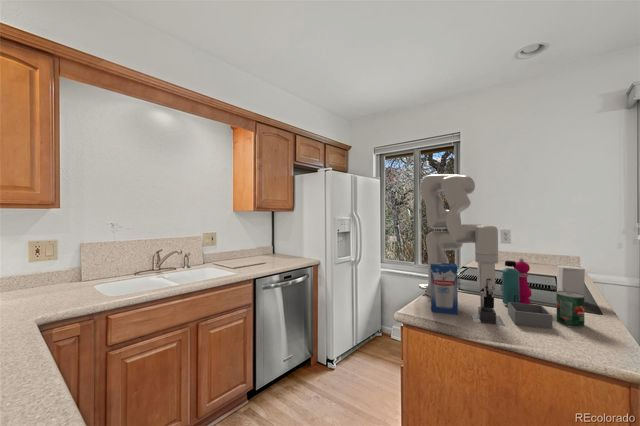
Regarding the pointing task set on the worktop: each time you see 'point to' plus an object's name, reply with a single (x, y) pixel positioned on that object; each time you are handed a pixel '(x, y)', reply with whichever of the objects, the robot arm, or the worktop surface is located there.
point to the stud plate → (498, 321)
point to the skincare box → (570, 279)
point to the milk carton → (444, 288)
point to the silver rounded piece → (486, 311)
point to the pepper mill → (523, 281)
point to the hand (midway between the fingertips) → (486, 303)
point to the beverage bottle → (510, 283)
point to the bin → (529, 315)
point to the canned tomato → (570, 309)
